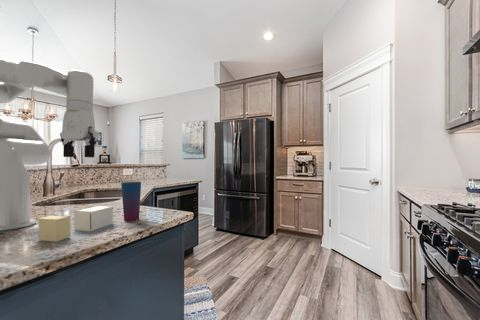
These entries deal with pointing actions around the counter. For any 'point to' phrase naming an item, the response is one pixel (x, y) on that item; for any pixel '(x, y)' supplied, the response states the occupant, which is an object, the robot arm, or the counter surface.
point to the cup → (131, 200)
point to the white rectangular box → (93, 218)
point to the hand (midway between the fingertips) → (78, 157)
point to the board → (80, 234)
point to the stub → (54, 228)
